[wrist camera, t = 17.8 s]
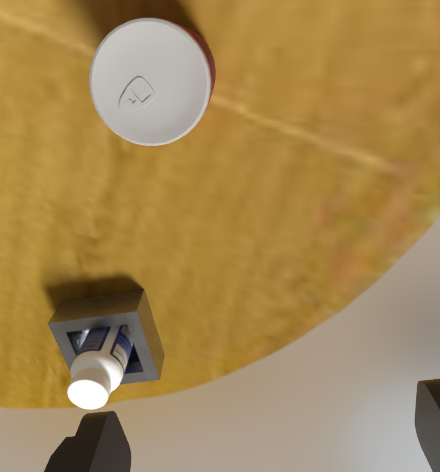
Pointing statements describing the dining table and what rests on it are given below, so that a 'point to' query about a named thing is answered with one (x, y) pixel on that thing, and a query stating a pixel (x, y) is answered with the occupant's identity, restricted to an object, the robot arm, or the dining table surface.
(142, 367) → the socket cup
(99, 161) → the dining table surface
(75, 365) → the pill bottle
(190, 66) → the canned food
